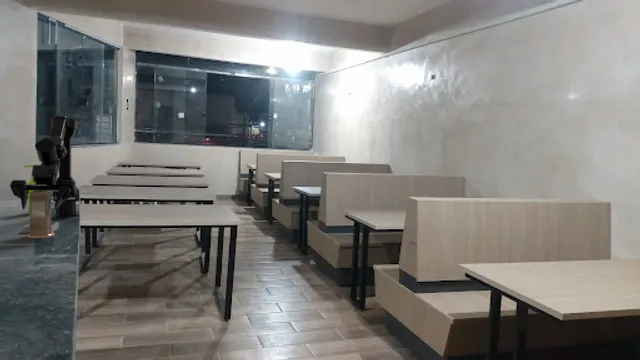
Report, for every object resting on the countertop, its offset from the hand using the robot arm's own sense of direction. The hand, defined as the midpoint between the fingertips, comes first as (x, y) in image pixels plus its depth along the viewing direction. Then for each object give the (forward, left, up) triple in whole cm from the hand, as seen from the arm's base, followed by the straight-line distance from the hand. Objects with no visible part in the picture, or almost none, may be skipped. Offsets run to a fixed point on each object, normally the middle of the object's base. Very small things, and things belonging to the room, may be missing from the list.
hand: (39, 208), depth 152 cm
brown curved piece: (-1, -1, -9) cm, 10 cm away
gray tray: (-5, -9, -9) cm, 14 cm away
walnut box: (-1, -1, -9) cm, 9 cm away
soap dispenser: (-24, -45, -10) cm, 52 cm away
